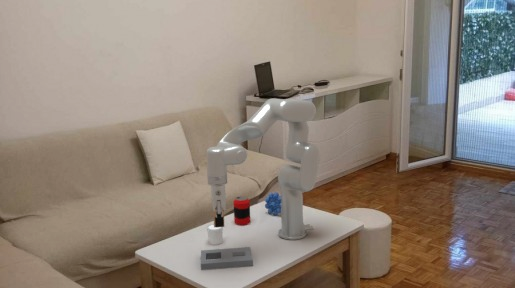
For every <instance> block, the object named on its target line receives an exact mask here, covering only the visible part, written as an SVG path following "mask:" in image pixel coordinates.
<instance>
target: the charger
mask: <svg viewBox="0 0 515 288" xmlns="http://www.w3.org/2000/svg"><path fill="white" fill-rule="evenodd" d="M212 209H213V208H212ZM216 209H217V208H216ZM222 210H223V208H222ZM212 211H213V213H212V214H213V224H214V228H215V217H216V215H215V210H214V209H213V210H212ZM217 212H218V211H217ZM223 220H224V221H225V209H224V210H223ZM223 228H225V225H224V226H223Z"/></svg>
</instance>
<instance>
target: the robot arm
mask: <svg viewBox="0 0 515 288" xmlns="http://www.w3.org/2000/svg"><path fill="white" fill-rule="evenodd" d="M316 114H317V108H316V105H315V104H314V103H313V102H312V101H309V100H304V99H296V98H285V99H283V98H276V97H274V98H269V99H267V100H265V102H264V103H262V105H261V106H260V107H259V109H258V110H256V112H254V114H253V115H251V117H250V118H249V119H248V120H247V121H245V122H243V123H242V124H239V125H238V126H235V127H234V128H232V129H231V130H229V131H228V132H227V133H226V134H225V135H224V136H223V137H221V139H220V140H219V141H218V142H217V144H216V146H210V147H208V148H207V149H206V153H205V154H206V155H205V157H206V176H207V184H208V186H210V189H211V190H210V192H211V194H210V195H211V203H212V209H214V210H215V215H216V217H215V227H223V226H224V227H225V219H224V220H223V210H224V211H226V210H227V202H226V201H227V200H226V199H227V198H226V194H227V193H226V185H227V184H228V166H237V165H240V164H243V163H244V162H245V161H246V159H247V158H248V151H247V149H246V148H245V147H244V146H242V145H241V144H242V143H244V142H246V141H250V140H254V139H258V138H261V137H264V135H265V134H266V133H268V131H269V130H270V129H271V127H272V126H274V124H275V123H276V122H277V121H281V122H287V124H288V134H287V141H286V146H285V158H286V159H287V160H288V161H290V162H292V163H295V164H300V166H297V165H294V164H285V165H283V166H281V167H280V168H279V171H278V173H277V180H278V181H277V182H278V185H279V190H280V196H281V213H280V215H281V220H280V221H281V222H280V223H281V228H280V229H279V230H278V233H277V234H278V236H279V237H280V238H282V239H284V240H291V241H293V240H295V241H296V240H300V239H304V238H305V237H306V236H307V235H308V234H307V233H308V231H314V230H315V226H314V225H310V224H305V223H304V201H303V200H304V198H303V192H304V193H306V192H310V191H311V190H313V188H314V187H315V185H316V181H317V177H318V171H319V166H320V160H321V152H320V149H319V147H318V146H317V145H316V144H314V143H311V142H308V138H309V131H310V129H309V124H308V123H309V122H311V121H312V120H313V119H314V118H315V116H316ZM216 208H217V209H216ZM222 208H223V210H222ZM217 211H218V212H217ZM224 227H223V228H224Z"/></svg>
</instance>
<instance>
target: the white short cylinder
mask: <svg viewBox="0 0 515 288" xmlns="http://www.w3.org/2000/svg"><path fill="white" fill-rule="evenodd" d="M223 230H224V227H215V228H214V223H213V224H210V225H208V226H207V227H206V232H207V237H208V238H207V239H208V243H209V244H210V245H221V244H222V243H223Z"/></svg>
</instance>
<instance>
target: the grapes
mask: <svg viewBox="0 0 515 288" xmlns="http://www.w3.org/2000/svg"><path fill="white" fill-rule="evenodd" d="M264 201H265V204H264V207H265V208H266V209H267V212H268V214H270V215H271V214H272V215H273V216H278V214H281V195H280V193H278V192H270V193H268V195H267V197H265V199H264Z"/></svg>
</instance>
